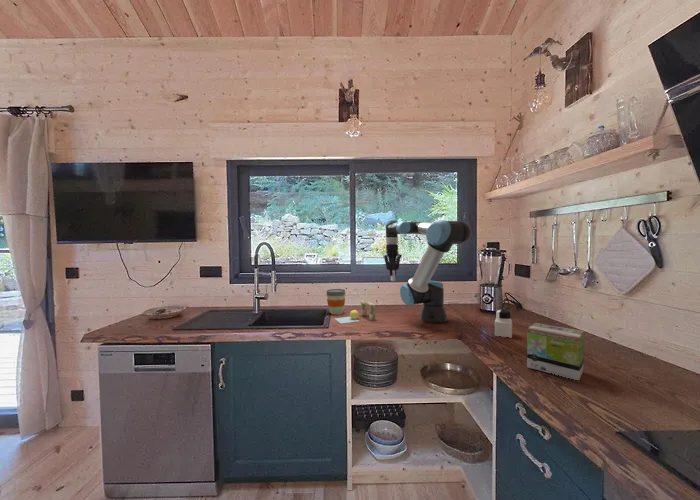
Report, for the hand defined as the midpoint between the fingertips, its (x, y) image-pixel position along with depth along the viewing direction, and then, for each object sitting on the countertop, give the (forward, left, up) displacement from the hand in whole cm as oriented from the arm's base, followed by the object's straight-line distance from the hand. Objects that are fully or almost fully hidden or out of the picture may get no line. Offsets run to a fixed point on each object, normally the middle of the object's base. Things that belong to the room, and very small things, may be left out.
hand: (393, 280), depth 184 cm
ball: (-1, +28, -19) cm, 33 cm away
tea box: (-94, -11, -22) cm, 97 cm away
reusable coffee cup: (+19, +33, -22) cm, 44 cm away
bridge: (-1, +19, -22) cm, 28 cm away
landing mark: (-1, +33, -22) cm, 39 cm away
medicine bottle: (-59, -27, -22) cm, 69 cm away
